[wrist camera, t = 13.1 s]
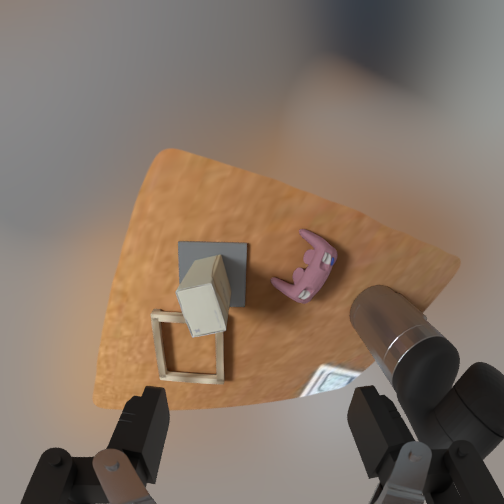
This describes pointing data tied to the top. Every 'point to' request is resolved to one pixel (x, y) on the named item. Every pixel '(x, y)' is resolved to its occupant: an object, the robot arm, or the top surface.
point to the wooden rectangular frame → (164, 374)
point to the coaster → (232, 260)
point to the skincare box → (205, 296)
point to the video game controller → (309, 270)
